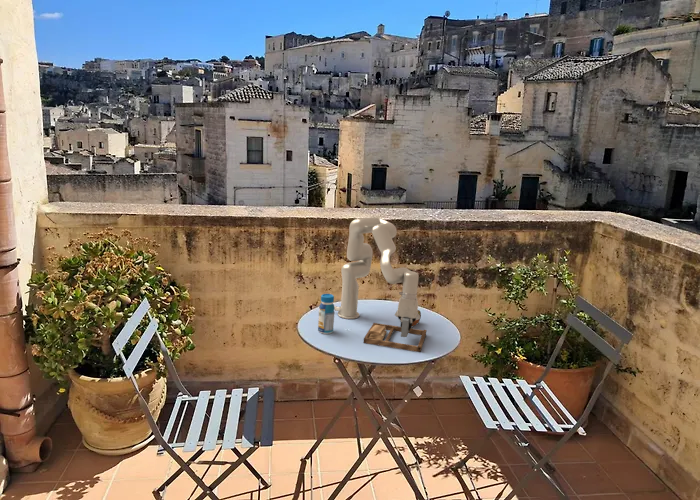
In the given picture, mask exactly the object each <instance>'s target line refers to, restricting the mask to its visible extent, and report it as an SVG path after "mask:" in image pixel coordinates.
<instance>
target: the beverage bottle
mask: <svg viewBox="0 0 700 500" xmlns="http://www.w3.org/2000/svg"><path fill="white" fill-rule="evenodd" d="M334 301H335V295H334V294H332V293H323V294H321V296H320V302H321V303H320V304H319V307H318V324H317V325H318V327H317V331H318V332H319V333H320V334H324V335H329V334H332V333H334V326H335V325H334V322H335V307H334V306H335V304H334Z"/></svg>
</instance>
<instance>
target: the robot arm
mask: <svg viewBox="0 0 700 500" xmlns="http://www.w3.org/2000/svg"><path fill="white" fill-rule="evenodd" d="M397 230H398V229H397V227H396V226H395V225H394V223H392V222H390V221H387V220H385V219H383V218H381V217H378V216H373V217H360V218H355V219H353V220H352V221H351V222H350V224H349V228H348V233H349V234H348V242H347V248H346V258H347V259H348V261H350V262H347V263H345V264H343V266H342V267H341V269H340V270H341V271H340V272H341V280H342V283H341V286H342V287H341V299H340V306H336V305H334V307H335V309H334V312H335V311H336V312H337V316H338V317H340V318H342V319H345V320H347V319H348V320H353V319H354V320H355V319H358V318H359V317H360V313H359V311H358V303H359V302H358V300H359V289H360V288H359V287H360V286H359V282H358V281H357V279H359V278H364V277H367V276H368V275H369V274H370V272H371V266H372V261H373V255H374V254H373V253H374V252H373V248H372V246H371V245H370V243H367V242H365V237H364V234H372V237H373V239H374V241H375V244H376V245H377V248H378V250H379V251H380V261H379V262H380V263H379V265H380V271H381V273H382V276H383V277H384V280H385V282H387V283H388V284H391V285H395V284H396V285H397V284H400V283H402V290H401V291H399V292H398V293H399V296H400V297H399V300H398V305H397V310H396V312H395V313H394V316H395V317H396V318H398V319H399V321H400V327H402V320H403V318H404V317H406V318H410V322H409V329H408V330H409V331H410V329H411V328H412V329H413V327H412V323H413V322H414V321H415V320H419V319H420V317H419V314H418V310H419V301H418V300H419V299H418V298H417V297H418V295H417V294H418V287H419V286H418V285H419V273H418V272H416V271H412V270H410V269H409V268H407V267H398V268H393V266H392V263H391V255H392V254H394V252H396V250H397V246H396V245H395V243H394V241H393V239H394V238H395V237H396V236H397V232H398V231H397ZM420 320H421V319H420ZM401 329H402V328H401Z"/></svg>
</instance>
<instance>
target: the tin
mask: <svg viewBox="0 0 700 500" xmlns="http://www.w3.org/2000/svg"><path fill="white" fill-rule="evenodd" d="M418 314H419V317H420V319H419V320H415V321H414V322H413V323H412V326H413V327H415V326H417V325H418V324H419V323H420V321H421V320H422V319H421V318H422V313H421V310H420V309H418ZM417 323H418V324H417ZM416 324H417V325H416ZM414 325H415V326H414Z"/></svg>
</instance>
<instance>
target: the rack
mask: <svg viewBox="0 0 700 500" xmlns="http://www.w3.org/2000/svg"><path fill="white" fill-rule="evenodd" d="M375 325H380V326H385V328H386V331H388V334H387V335H386V337H385V339H383V340H377V339H371V338H369V336H370V334H369V333H370V330H371V329H372V328H373V327H374V326H375ZM401 328H402V327H401V326H397V325H391V324H385V323H378V322H373V323H372V325H371V326H370V328H369V329H368V331H367V332H366V334H365V336H364V337H363V340H362V341H363V344H368V345H374V346H381V347H385V348H392V349H399V350H405V351H411V352H415V353H417V352H418V353H421V351H422V348H423V345H424V342H425V340H424V339H425V338H426V337H425V336H427V329H423V330H422V329H417V328H413V327H412V328H411V329H410V331H409V333H408V334H412V335H416V336H417V335H418V336H420V339H419V342H418V344H417V345H413V344H406V343H401V342H395V341H390V340H391V337H392V336H393V334H394V332H397V333H401Z"/></svg>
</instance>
